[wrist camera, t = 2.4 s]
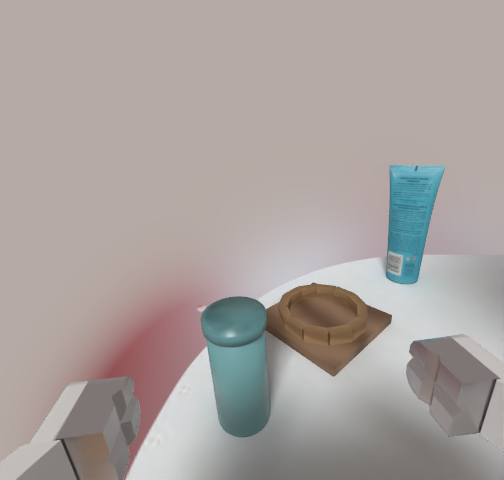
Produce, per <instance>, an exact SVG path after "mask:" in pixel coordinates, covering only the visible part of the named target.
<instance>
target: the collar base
mask: <svg viewBox="0 0 504 480" xmlns="http://www.w3.org/2000/svg"><path fill="white" fill-rule="evenodd" d="M266 316H267V327H266V330H267V331H268V332H270V333H271V334H272V335H274V336H275V337H277V338H278V339H280V340H281V341H283V342H284V343H286V344H287V345H288V346H290V347H291V348H293V349H294V350H296V351H297V352H299V353H300V354H301V355H303V356H304V357H306V358H307V359H309V360H310V361H312V362H313V363H315V364H316V365H317V366H319V367H320V368H322V369H323V370H325V371H326V372H328V373H329V374H330V375H332V376H333V377H334V376H335V375H336V374H337V373H338V372H339V371H340V370H342V369H343V368H344V367H345V366H346V365H347V364H348V363H349V362H350V361H351V360H352V359H353V358H354V357H355V356H356V355H357V354H359V353H360V352H361V351H362V350H363V349H364V348H365V347H366V346H367V345H368V344H369V343H370V342H371V341H372V340H373V339H374V338H375V337H377V336H378V335H379V334H380V333H381V332H382V331H383V330H384V329H385V328H386V327H387V326H388V325H389V324H390V323H391V319H392V315H390V314H387V313H385V312H383V311H380V310H378V309H375V308H373V307H371V306H368V305H366V304H365V303H364V302H363V301H362V300H361V299H360V298H359V297H358V296H357V295H356V294H354V293H353V292H350V291H347V290H345V289H342V288H340V287H336V286H331V285H322V284H316V283H312V284H310V285H305V286H299V287H296V288H294V289H292V290H290V291H289V292H287V293H285V294H284V295H283V296H282V298H281V300H280V302H278V303H277V304H275V305H273V306H271V307H269V308H268V309H266Z"/></svg>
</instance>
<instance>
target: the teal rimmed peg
mask: <svg viewBox="0 0 504 480" xmlns="http://www.w3.org/2000/svg"><path fill="white" fill-rule="evenodd" d="M201 325H202V331H203V335H204V337H205V338H206V340H207V347H208V354H209V360H210V367H211V373H212V380H213V386H214V392H215V399H216V405H217V412H218V418H219V422H220V424H221V426H222V428H223V429H224V430H225V431H226V432H227V433H229V434H231V435H233V436H237V437H248V436H251V435H254V434H256V433H258V432H259V431H260V430H262V428H263V427H264V426H265V425H266V423H267V422H268V419H269V416H270V401H269V385H268V369H267V354H266V338H265V330H266V327H267V316H266V309H265V307H264V306H263V304H261V303H260V302H259V301H257V300H255V299H252V298H248V297H229V298H225V299H221V300H219V301H216V302H214V303H212V304H211V305H209V306H208V307H207V308H206V309H205V310H204V312H203V313H202V316H201Z"/></svg>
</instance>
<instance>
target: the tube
mask: <svg viewBox="0 0 504 480" xmlns="http://www.w3.org/2000/svg"><path fill="white" fill-rule="evenodd" d="M444 169H445V165H443V166H442V165H440V166H414V165H390V210H389V213H390V214H389V235H388V254H387V272H386V276H387V277H388V278H389V279H390V280H392V281H394V282H397V283H403V284H411V283H415V282H417V281H418V277H419V271H420V266H421V261H422V256H423V251H424V246H425V241H426V236H427V232H428V228H429V223H430V219H431V214H432V210H433V206H434V202H435V199H436V195H437V191H438V188H439V185H440V181H441V178H442V176H443V173H444Z"/></svg>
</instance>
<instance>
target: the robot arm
mask: <svg viewBox="0 0 504 480" xmlns="http://www.w3.org/2000/svg"><path fill="white" fill-rule="evenodd" d="M409 352H410V354H411V355H412V357H413V358H412V359H411V360H410V361H409V363H408V364H407V371H406V374H407V378H408V382H409V385H410V387H411V389H412V390H413V392H414V393H415V395H416V396H417V397H418V399H420V400H422V401H423V402H425V403H427V404H428V405H429V408H430V414H431V415H432V417H433V418H434V419H435V420H436V422H437V423H438V424H439V426H440V427H441V428H442V429H443V431H444V432H445V433H446V434H447V436H448V437H451V436H459V435H468V434H476V433H480V436H482V437H483V438H485V439H486V440H488V441H489V442H490V443H492V444H493V445H495V446H496V447H498V448H499V449H501V450H502V451H503V452H504V363H503V362H501V361H500V360H499V359H498V358H496V357H495V356H494V355H492V354H491V353H490V352H488V351H487V350H486V349H484V348H483V347H482V346H481V345H479V344H478V343H477V342H475V341H474V340H473V339H471V338H470V337H468V336H466V335H463V334H461V335H454V336H447V337H441V338H433V339H426V340H418V341H413V343H412V344H411V345H410V350H409ZM134 387H135V386H134V383H133V380H132V377H129V376H128V377H117V378H107V379H97V380H91V381H80V382H72V383H71V384H69V385H68V386H67V387H66V388H65V390H64V392H63V393H62V395H61V396H60V397H59V399H58V400H57V402H56V404H55V405H54V407H53V408H52V410H51V411H50V413H49V414H48V416H47V417H46V419H45V420H44V422H43V423H42V425H41V426H40V428H39V430H38V431H37V433H36V434H35V436H34V437H33V439H32V440H31V442H30V443H29V444H26V445H22V446H20V447H19V448H18V449H17V450H15V451H14V452H13V453H11V454H10V455H9V456H8V457H6V458H5V459H4V460H3V461H1V462H0V480H123V479H124V475H125V472H126V468H127V465H128V462H129V459H130V454H129V450H128V446H129V445H130V444H131V443H132V442H133V441H134V440H135V438H136V435H137V432H138V428H139V421H140V405H139V401H138V399H137V398H136V397H135V396H133V395H132V393H133V390H134Z"/></svg>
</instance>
